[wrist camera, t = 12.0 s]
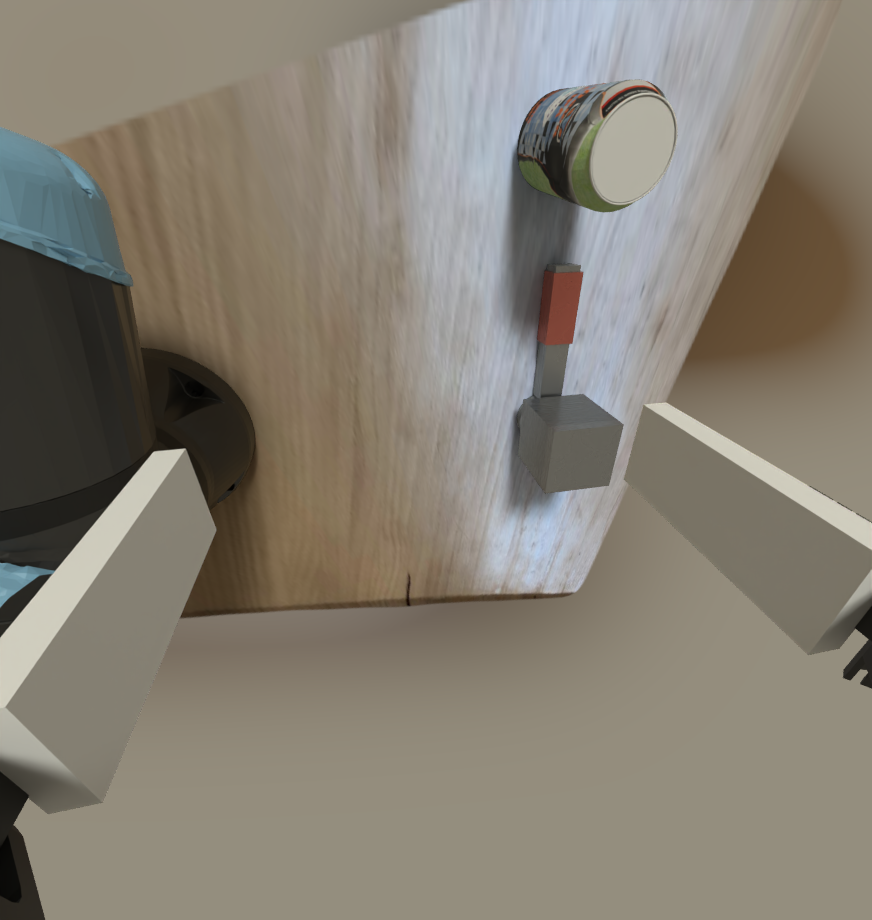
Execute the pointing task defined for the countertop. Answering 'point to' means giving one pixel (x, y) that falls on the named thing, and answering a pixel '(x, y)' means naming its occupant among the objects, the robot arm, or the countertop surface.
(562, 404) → the brushed steel cube
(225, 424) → the robot arm
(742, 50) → the countertop surface
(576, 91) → the beverage can
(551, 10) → the countertop surface
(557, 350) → the ratchet
